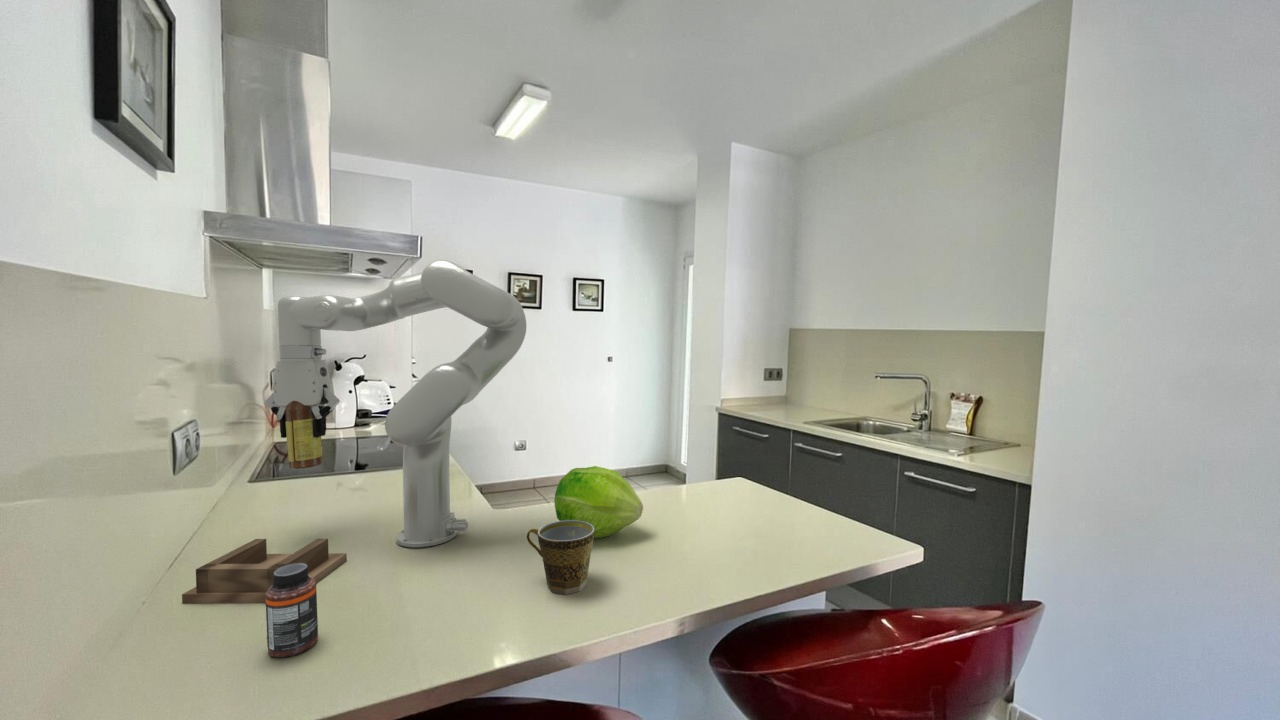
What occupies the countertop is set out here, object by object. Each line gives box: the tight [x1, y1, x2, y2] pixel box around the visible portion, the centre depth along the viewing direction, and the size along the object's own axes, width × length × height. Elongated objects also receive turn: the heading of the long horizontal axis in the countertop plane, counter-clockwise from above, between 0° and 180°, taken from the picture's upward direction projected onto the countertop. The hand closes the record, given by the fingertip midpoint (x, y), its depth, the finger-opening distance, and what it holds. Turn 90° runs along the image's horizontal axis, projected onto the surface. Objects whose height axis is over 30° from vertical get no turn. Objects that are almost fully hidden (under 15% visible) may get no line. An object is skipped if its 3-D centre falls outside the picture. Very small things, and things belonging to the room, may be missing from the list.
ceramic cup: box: [526, 520, 595, 596], centre depth 88 cm, size 13×10×10 cm
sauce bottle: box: [285, 401, 323, 470], centre depth 108 cm, size 6×6×20 cm
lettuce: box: [553, 465, 644, 539], centre depth 111 cm, size 17×20×15 cm
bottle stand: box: [181, 538, 348, 604], centre depth 90 cm, size 18×16×6 cm
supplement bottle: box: [265, 563, 319, 658], centre depth 70 cm, size 6×6×11 cm
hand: (303, 435), depth 108 cm, fingers closed on sauce bottle, 6 cm apart
